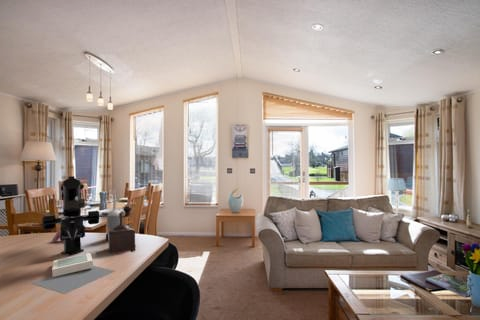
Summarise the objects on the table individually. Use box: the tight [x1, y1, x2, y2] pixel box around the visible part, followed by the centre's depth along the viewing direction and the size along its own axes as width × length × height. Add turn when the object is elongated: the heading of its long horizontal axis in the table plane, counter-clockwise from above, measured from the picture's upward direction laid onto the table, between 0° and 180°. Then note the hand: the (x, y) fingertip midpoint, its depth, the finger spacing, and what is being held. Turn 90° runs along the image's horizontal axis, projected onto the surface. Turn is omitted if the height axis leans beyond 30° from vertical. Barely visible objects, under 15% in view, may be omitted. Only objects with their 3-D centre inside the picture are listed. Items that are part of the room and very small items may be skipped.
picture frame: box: [51, 252, 94, 277], centre depth 100 cm, size 3×12×13 cm
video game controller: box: [51, 229, 64, 243], centre depth 136 cm, size 10×5×7 cm, turn 84°
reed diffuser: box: [105, 189, 122, 242], centre depth 139 cm, size 8×8×25 cm
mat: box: [31, 265, 116, 295], centre depth 92 cm, size 17×18×1 cm
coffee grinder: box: [107, 205, 136, 254], centre depth 125 cm, size 16×11×18 cm
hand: (72, 238), depth 102 cm, fingers closed
